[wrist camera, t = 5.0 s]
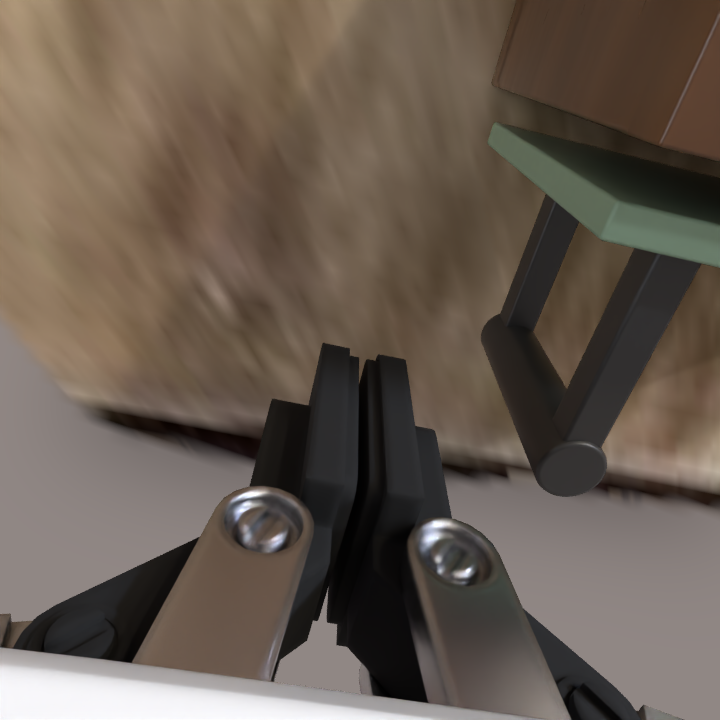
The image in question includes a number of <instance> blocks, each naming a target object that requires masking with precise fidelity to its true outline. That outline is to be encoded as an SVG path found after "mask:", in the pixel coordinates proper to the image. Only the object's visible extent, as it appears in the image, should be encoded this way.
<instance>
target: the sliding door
mask: <svg viewBox="0 0 720 720" xmlns="http://www.w3.org/2000/svg"><path fill="white" fill-rule="evenodd" d="M488 145H489V146H490V147H492V148H493V149H494V150H495V151H496V152H497V153H499V154H500V155H501V156H502V157H503V158H505V159H506V160H507V161H508V162H509V163H511V164H512V165H513V166H514V167H515V168H516V169H518V170H519V171H520V172H521V173H522V174H524V175H525V176H526V177H527V178H528V179H529V180H531V181H532V182H533V183H534V184H535V185H537V186H538V187H539V188H540V189H541V190H542V191H544V192H545V193H546V195H545V198H544V201H543V203H542V206H541V209H540V211H539V214H538V216H537V219H536V222H535V224H534V227H533V230H532V232H531V235H530V237H529V240H528V243H527V245H526V248H525V250H524V253H523V256H522V258H521V261H520V264H519V266H518V269H517V271H516V274H515V277H514V279H513V282H512V284H511V287H510V290H509V292H508V295H507V298H506V300H505V303H504V305H503V308H502V311H501V313H500V314H498V315H496V316H494V317H492V318H491V319H490V320H489V321H488V322H487V323H486V324H485V326H484V328H483V330H482V333H481V342H482V345H483V347H484V350H485V352H486V355H487V357H488V360H489V362H490V365H491V367H492V370H493V372H494V375H495V377H496V380H497V382H498V385H499V387H500V390H501V392H502V395H503V397H504V400H505V402H506V405H507V407H508V410H509V413H510V415H511V418H512V420H513V423H514V425H515V428H516V430H517V433H518V435H519V438H520V440H521V443H522V445H523V448H524V450H525V453H526V455H527V458H528V460H529V463H530V465H531V468H532V470H533V473H534V475H535V478H536V480H537V482H538V484H539V485H540V486H541V487H542V488H543V489H544V490H545V491H547V492H548V493H550V494H553V495H556V496H562V497H570V496H576V495H580V494H583V493H585V492H587V491H589V490H591V489H593V488H594V487H595V486H596V485H597V484H599V482H600V481H601V480H602V479H603V477H604V475H605V473H606V469H607V459H606V456H605V453H604V452H603V450H602V448H601V446H602V445H603V443H604V441H605V439H606V437H607V436H608V434H609V432H610V430H611V428H612V426H613V425H614V423H615V421H616V419H617V417H618V415H619V414H620V412H621V410H622V408H623V406H624V404H625V403H626V401H627V399H628V397H629V395H630V393H631V392H632V390H633V388H634V386H635V384H636V383H637V381H638V379H639V377H640V375H641V373H642V372H643V370H644V368H645V366H646V364H647V362H648V361H649V359H650V357H651V355H652V353H653V351H654V350H655V348H656V346H657V344H658V342H659V340H660V339H661V337H662V335H663V333H664V331H665V329H666V328H667V326H668V324H669V322H670V320H671V319H672V317H673V315H674V313H675V311H676V309H677V308H678V306H679V304H680V302H681V300H682V298H683V297H684V295H685V293H686V291H687V289H688V287H689V286H690V284H691V282H692V280H693V278H694V276H695V275H696V273H697V271H698V269H699V267H700V266H701V264H705V265H710V266H714V267H718V268H720V178H718V177H714V176H710V175H706V174H702V173H698V172H694V171H690V170H686V169H682V168H678V167H674V166H670V165H666V164H662V163H658V162H654V161H650V160H646V159H642V158H638V157H634V156H630V155H626V154H622V153H618V152H614V151H610V150H606V149H602V148H598V147H594V146H590V145H586V144H582V143H578V142H574V141H570V140H566V139H562V138H558V137H554V136H550V135H546V134H542V133H538V132H534V131H530V130H526V129H522V128H518V127H514V126H510V125H506V124H502V123H498V122H495V123H494V124H493V127H492V130H491V133H490V136H489V139H488ZM579 222H580V223H582V224H583V225H584V226H585V227H586V228H587V229H589V230H590V231H591V232H592V233H593V234H595V235H596V236H597V237H598V238H599V239H601V240H602V241H606V242H610V243H614V244H619V245H623V246H627V247H632V248H634V251H633V253H632V255H631V257H630V259H629V261H628V263H627V265H626V267H625V269H624V271H623V274H622V276H621V278H620V280H619V282H618V284H617V286H616V288H615V290H614V292H613V294H612V296H611V299H610V301H609V303H608V305H607V307H606V309H605V311H604V313H603V315H602V317H601V319H600V321H599V324H598V326H597V328H596V330H595V332H594V334H593V336H592V338H591V340H590V342H589V344H588V346H587V349H586V351H585V353H584V355H583V357H582V359H581V361H580V363H579V365H578V367H577V369H576V371H575V374H574V376H573V378H572V380H571V382H570V384H569V386H568V388H567V389H566V387H565V385H564V384H563V382H562V380H561V378H560V377H559V375H558V373H557V372H556V370H555V368H554V366H553V365H552V363H551V361H550V360H549V358H548V356H547V355H546V353H545V351H544V349H543V348H542V346H541V344H540V343H539V341H538V339H537V337H536V336H535V334H534V332H533V330H534V328H535V326H536V323H537V321H538V318H539V316H540V314H541V311H542V309H543V307H544V304H545V302H546V299H547V297H548V295H549V292H550V290H551V288H552V285H553V283H554V280H555V278H556V276H557V273H558V271H559V268H560V266H561V264H562V261H563V259H564V257H565V254H566V252H567V249H568V247H569V245H570V242H571V240H572V238H573V235H574V233H575V230H576V228H577V226H578V223H579Z"/></svg>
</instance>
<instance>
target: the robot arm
mask: <svg viewBox="0 0 720 720" xmlns="http://www.w3.org/2000/svg"><path fill="white" fill-rule="evenodd" d="M328 586H329V589H328ZM327 589H328V605H327V622H328V623H334V624H337V645H339V646H346V647H348V648H349V649H350V650H351V652H352V653H353V654H354V655H355V656H356V657H357V658H358V659H359V660H360V662H361V663H362V664H361V666H360V669H359V684H360V691H361V694H358V693H351V692H343V691H336V690H328V689H322V688H314V687H307V686H300V685H292V684H285V683H277V682H274V681H275V678H276V674H277V671H278V667H279V663H280V660H281V659H282V658H283V657H285V656H286V655H287V654H289V653H290V652H292V651H293V650H294V649H296V648H297V647H298V646H300V645H301V644H303V643H304V642H305V641H307V638H308V635H309V632H310V628H311V625H312V621H313V620H314V621H318V619H319V616H320V613H321V609H322V606H323V602H324V599H325V596H326V593H327ZM0 720H683V719H680V718H678V717H675V716H672V715H670V714H667V713H664V712H662V711H659V710H656V709H654V708H651V707H648V706H646V705H643V706H642V707H641V708H640V710H639V711H636V710H635V709H634V708H633V706H632V705H631V703H630V702H629V701H628V700H627V699H626V698H625V697H624V696H623V695H622V694H621V693H620V692H619V691H618V690H617V689H616V688H615V687H614V686H613V685H612V684H611V683H609V682H608V681H607V680H606V679H605V678H604V677H603V676H601V675H600V674H599V673H598V672H597V671H596V670H594V669H593V668H592V667H591V666H590V665H588V664H587V663H586V662H585V661H584V660H583V659H582V658H580V657H579V656H578V655H577V654H576V653H574V652H573V651H572V650H571V649H570V648H569V647H568V646H566V645H565V644H564V643H563V642H562V641H560V640H559V639H558V638H557V637H556V636H554V635H553V634H552V633H551V632H550V631H549V630H548V629H546V628H545V627H544V626H543V625H542V624H541V623H539V622H538V621H537V620H536V619H535V618H534V617H532V616H531V615H530V614H529V613H528V612H527V611H525V610H524V609H523V608H522V605H521V603H520V601H519V598H518V596H517V594H516V592H515V589H514V587H513V585H512V582H511V580H510V578H509V576H508V573H507V571H506V569H505V567H504V564H503V562H502V559H501V557H500V555H499V553H498V552H497V550H496V549H495V547H494V545H493V544H492V543H491V542H490V541H489V540H488V539H487V538H486V537H485V536H484V535H483V534H482V533H481V532H479V531H478V530H476V529H475V528H473V527H472V526H470V525H468V524H466V523H463V522H461V521H458V520H456V519H452V517H451V511H450V506H449V500H448V496H447V490H446V485H445V479H444V474H443V469H442V463H441V458H440V453H439V448H438V442H437V437H436V434H435V431H434V430H433V429H428V428H423V427H417V426H415V422H414V415H413V408H412V401H411V394H410V386H409V379H408V372H407V365H406V360H404V359H399V358H394V357H390V356H385V355H380V354H378V356H377V358H376V361H374V360H369V359H367V360H366V362H365V365H364V368H363V372H362V376H361V379H360V383H359V357H354V356H350V348H345V347H341V346H336V345H331V344H326V343H323V344H322V348H321V352H320V356H319V361H318V365H317V370H316V374H315V379H314V383H313V388H312V392H311V396H310V401H309V405H303V404H297V403H292V402H287V401H282V400H277V399H272V400H271V404H270V408H269V412H268V416H267V420H266V423H265V427H264V431H263V435H262V439H261V443H260V447H259V451H258V455H257V459H256V463H255V467H254V471H253V475H252V479H251V483H250V487H247V488H243V489H240V490H236V491H234V492H232V493H231V494H229V495H228V496H226V497H224V498H223V500H222V501H221V502H220V503H219V504H218V506H217V507H216V509H215V510H214V512H213V514H212V516H211V518H210V519H209V521H208V523H207V525H206V527H205V529H204V531H203V533H202V534H201V536H200V537H198V538H196V539H194V540H192V541H190V542H188V543H186V544H184V545H182V546H179V547H177V548H175V549H174V550H171V551H169V552H167V553H165V554H163V555H160V556H159V557H156V558H154V559H152V560H150V561H148V562H146V563H144V564H142V565H139V566H137V567H135V568H133V569H131V570H129V571H127V572H125V573H122V574H120V575H118V576H116V577H114V578H112V579H110V580H108V581H106V582H103V583H101V584H100V585H97V586H95V587H93V588H91V589H89V590H87V591H85V592H82V593H80V594H78V595H76V596H74V597H72V598H70V599H68V600H66V601H64V602H61V603H59V604H57V605H55V606H53V607H52V608H50V609H49V610H47V611H45V612H44V613H42V614H41V615H39V616H37V617H36V619H34V620H33V621H22V622H11V614H0Z"/></svg>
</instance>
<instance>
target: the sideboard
mask: <svg viewBox="0 0 720 720" xmlns="http://www.w3.org/2000/svg"><path fill="white" fill-rule="evenodd" d="M492 85H493V86H496V87H499V88H502V89H505V90H507V91H510V92H513V93H515V94H518V95H521V96H524V97H526V98H529V99H532V100H534V101H537V102H540V103H543V104H545V105H548V106H551V107H553V108H556V109H559V110H562V111H564V112H567V113H570V114H572V115H575V116H578V117H581V118H583V119H586V120H589V121H591V122H594V123H597V124H600V125H602V126H605V127H608V128H610V129H613V130H616V131H619V132H621V133H624V134H627V135H629V136H631V137H634V138H637V139H639V140H642V141H645V142H648V143H650V144H653V145H656V146H658V147H662V148H665V149H669V150H673V151H677V152H681V153H685V154H689V155H693V156H697V157H701V158H705V159H709V160H713V161H717V162H720V0H517V1H516V4H515V7H514V11H513V14H512V17H511V21H510V24H509V27H508V30H507V34H506V37H505V40H504V43H503V47H502V50H501V53H500V56H499V60H498V63H497V66H496V70H495V73H494V76H493V79H492Z"/></svg>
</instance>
